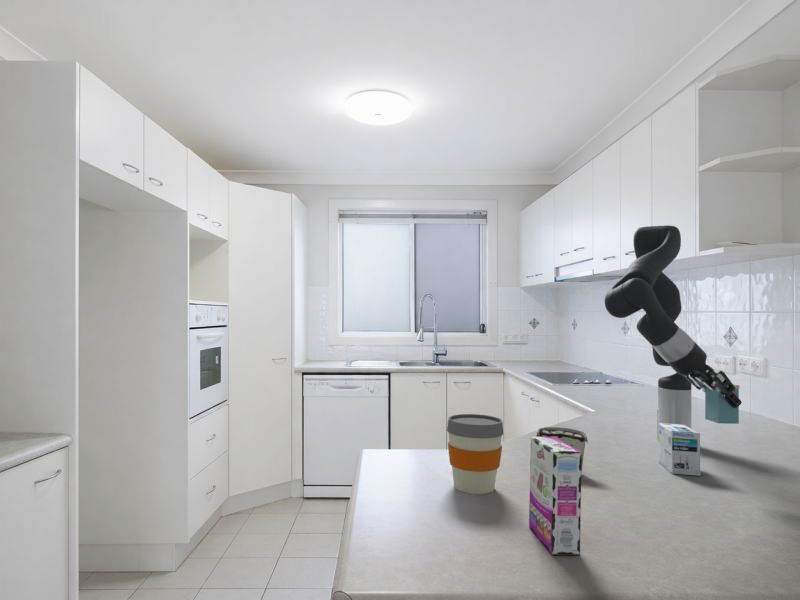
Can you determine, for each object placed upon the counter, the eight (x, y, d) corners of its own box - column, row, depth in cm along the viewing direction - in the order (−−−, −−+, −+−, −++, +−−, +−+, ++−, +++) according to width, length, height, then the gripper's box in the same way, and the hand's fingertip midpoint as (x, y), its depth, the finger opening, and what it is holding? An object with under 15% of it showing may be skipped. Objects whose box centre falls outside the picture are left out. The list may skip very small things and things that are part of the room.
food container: (589, 469, 124) (589, 430, 124) (587, 476, 118) (588, 435, 118) (539, 462, 129) (540, 424, 129) (535, 469, 123) (536, 429, 124)
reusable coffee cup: (467, 500, 100) (468, 427, 101) (435, 482, 111) (436, 416, 112) (514, 492, 106) (515, 422, 107) (479, 475, 117) (480, 412, 118)
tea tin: (704, 418, 114) (704, 382, 114) (724, 419, 114) (724, 382, 114) (718, 423, 109) (718, 385, 110) (739, 423, 109) (739, 385, 110)
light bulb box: (701, 476, 120) (701, 432, 121) (671, 474, 122) (671, 430, 122) (685, 464, 131) (685, 423, 131) (657, 462, 132) (657, 422, 132)
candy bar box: (582, 556, 78) (583, 452, 78) (552, 556, 77) (553, 452, 78) (554, 526, 89) (555, 435, 89) (527, 526, 88) (529, 435, 89)
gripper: (710, 340, 105) (765, 397, 105) (671, 337, 119) (720, 387, 119) (685, 364, 105) (741, 421, 105) (650, 358, 119) (698, 408, 119)
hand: (729, 403), depth 112 cm, fingers closed on tea tin, 4 cm apart
